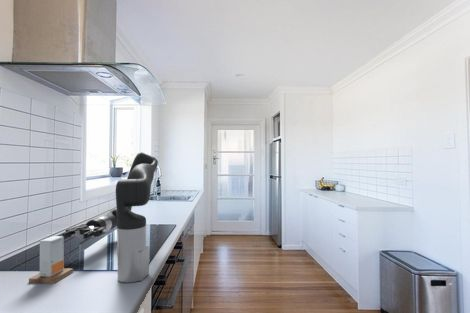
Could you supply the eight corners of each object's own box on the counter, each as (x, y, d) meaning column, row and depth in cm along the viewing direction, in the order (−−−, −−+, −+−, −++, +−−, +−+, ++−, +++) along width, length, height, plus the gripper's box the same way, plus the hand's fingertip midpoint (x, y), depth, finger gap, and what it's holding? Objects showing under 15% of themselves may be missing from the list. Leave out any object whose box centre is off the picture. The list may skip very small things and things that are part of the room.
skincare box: (50, 277, 92) (50, 241, 92) (39, 276, 92) (38, 240, 92) (64, 270, 98) (64, 236, 98) (54, 269, 98) (53, 235, 98)
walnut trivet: (73, 271, 99) (73, 268, 99) (54, 283, 90) (54, 279, 90) (49, 271, 100) (49, 267, 100) (28, 282, 91) (28, 278, 91)
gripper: (83, 217, 123) (56, 226, 107) (114, 217, 121) (91, 226, 105) (83, 234, 123) (56, 245, 107) (114, 235, 121) (91, 246, 105)
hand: (73, 236), depth 106 cm, fingers open, 8 cm apart
